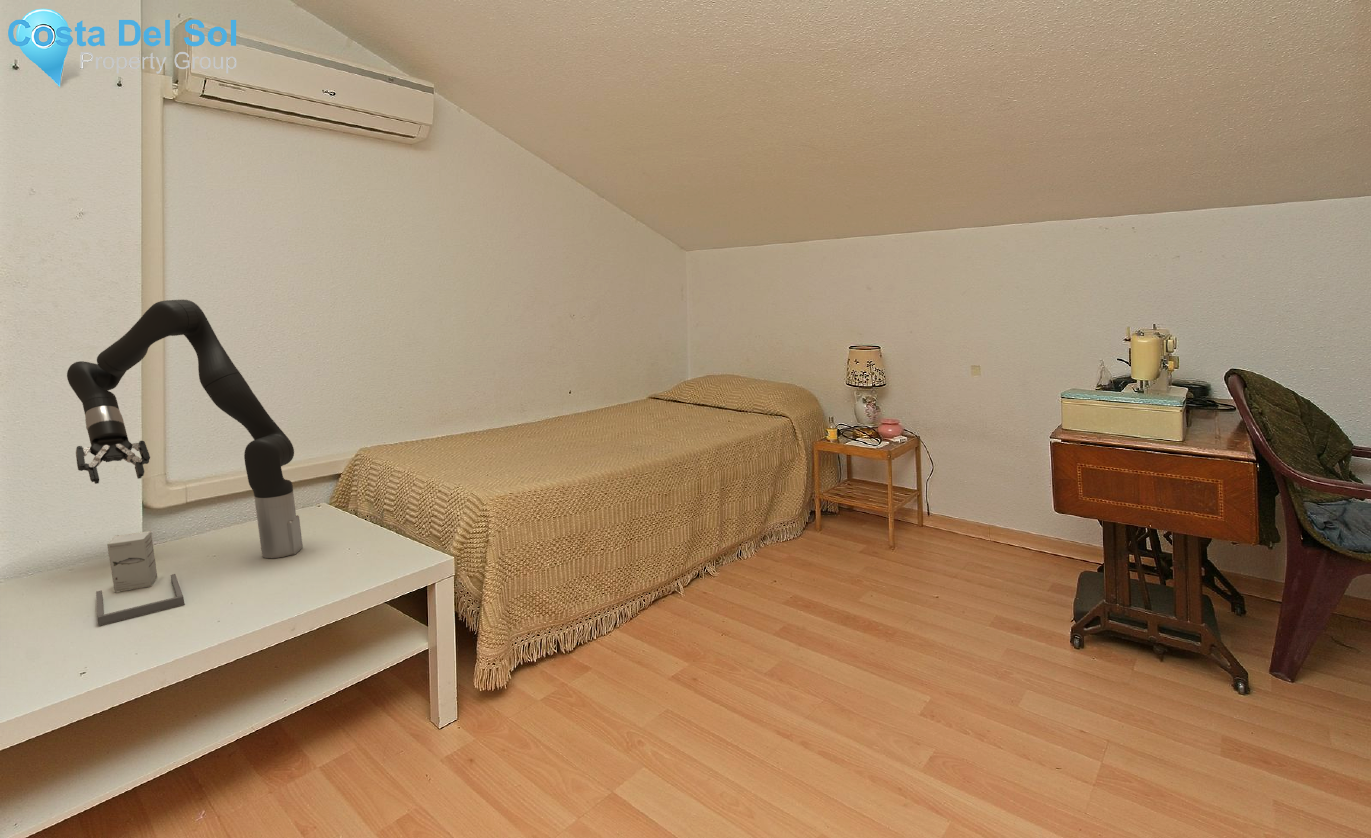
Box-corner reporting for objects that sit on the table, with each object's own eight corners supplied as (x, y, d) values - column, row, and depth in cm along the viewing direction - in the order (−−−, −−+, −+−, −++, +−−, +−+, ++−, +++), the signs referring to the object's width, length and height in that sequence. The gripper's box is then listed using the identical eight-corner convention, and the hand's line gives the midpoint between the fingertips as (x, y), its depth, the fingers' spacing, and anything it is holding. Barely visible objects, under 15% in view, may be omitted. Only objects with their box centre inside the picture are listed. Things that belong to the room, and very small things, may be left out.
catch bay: (97, 599, 156) (96, 591, 155) (176, 581, 166) (175, 573, 165) (98, 626, 142) (97, 617, 142) (184, 604, 152) (183, 596, 152)
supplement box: (113, 593, 159) (105, 543, 157) (122, 582, 166) (114, 534, 163) (152, 587, 162) (144, 538, 160) (159, 576, 169) (151, 529, 167)
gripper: (71, 421, 166) (83, 476, 162) (142, 417, 177) (156, 468, 173) (68, 437, 171) (80, 491, 166) (138, 431, 182) (151, 482, 177)
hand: (119, 479), depth 169 cm, fingers open, 8 cm apart
